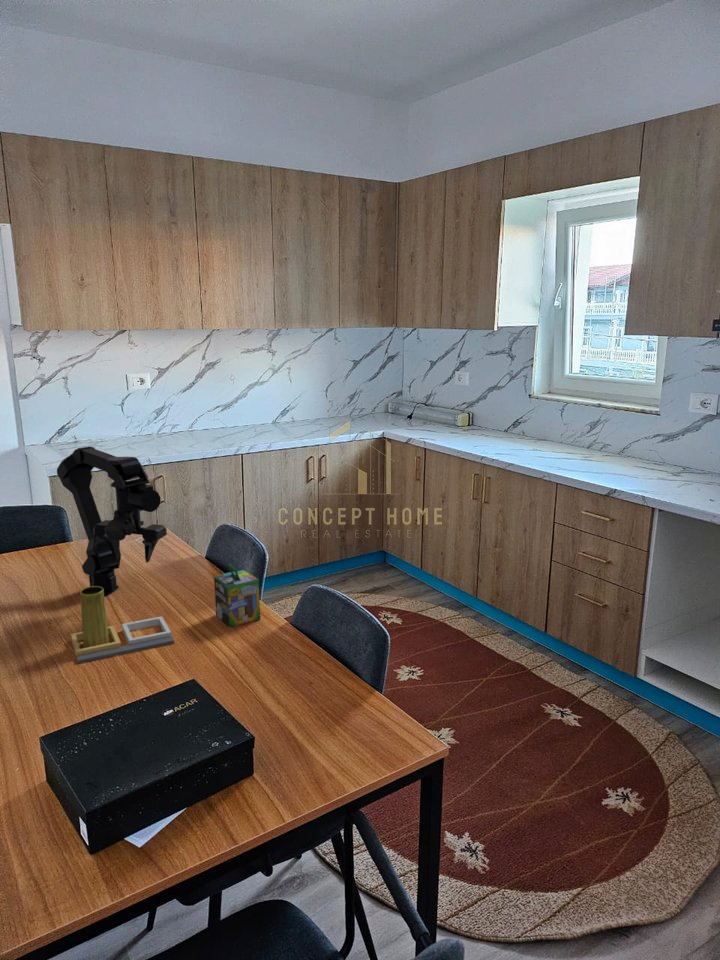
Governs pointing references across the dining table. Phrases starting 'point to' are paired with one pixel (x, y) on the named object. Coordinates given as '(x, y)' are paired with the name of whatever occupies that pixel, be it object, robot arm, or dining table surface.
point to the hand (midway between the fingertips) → (132, 560)
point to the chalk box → (237, 597)
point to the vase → (93, 617)
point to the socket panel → (134, 643)
